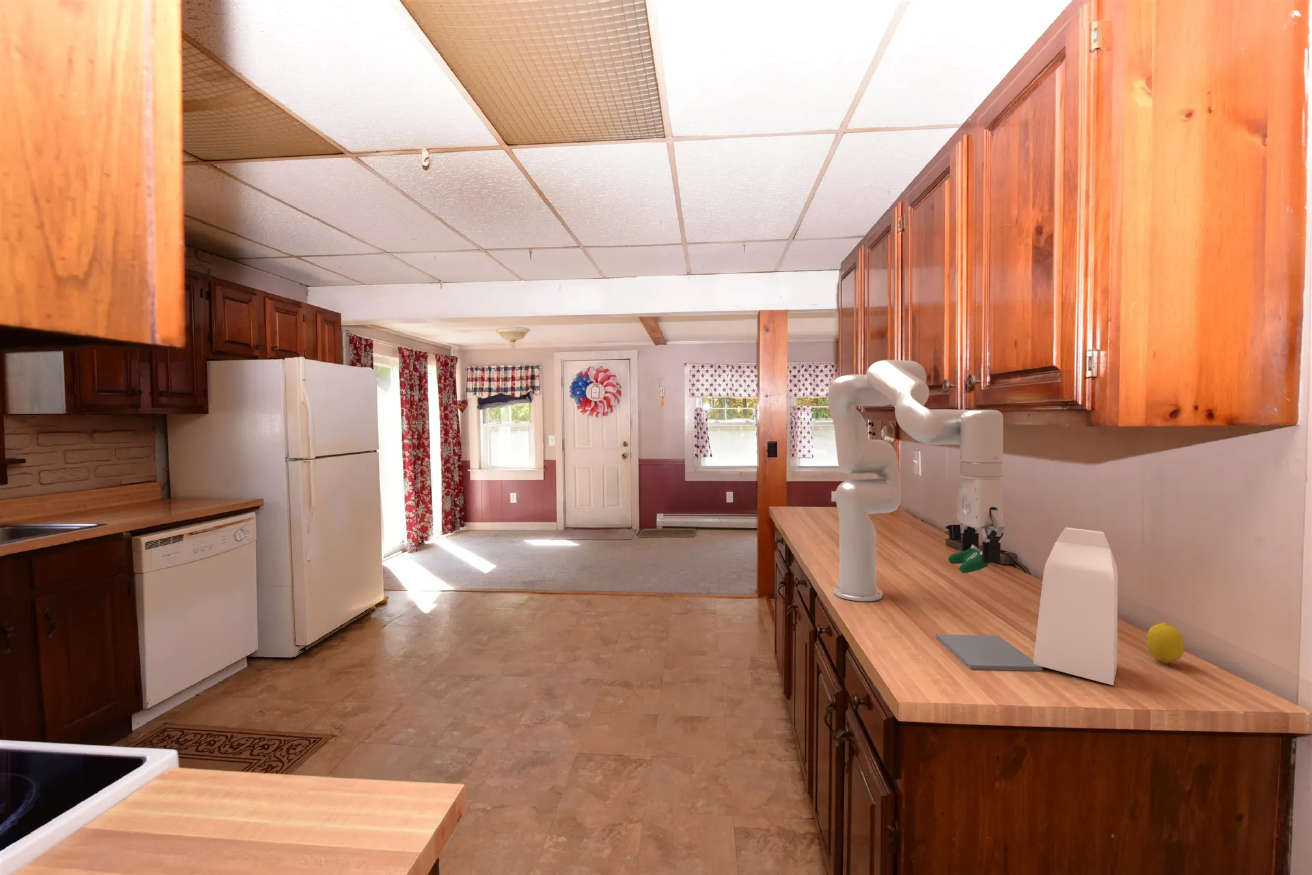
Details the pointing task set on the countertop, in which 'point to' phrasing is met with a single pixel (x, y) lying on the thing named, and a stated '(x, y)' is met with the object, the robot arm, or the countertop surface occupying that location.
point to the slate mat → (987, 652)
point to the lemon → (1165, 642)
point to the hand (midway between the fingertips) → (980, 556)
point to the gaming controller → (968, 560)
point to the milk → (1079, 607)
